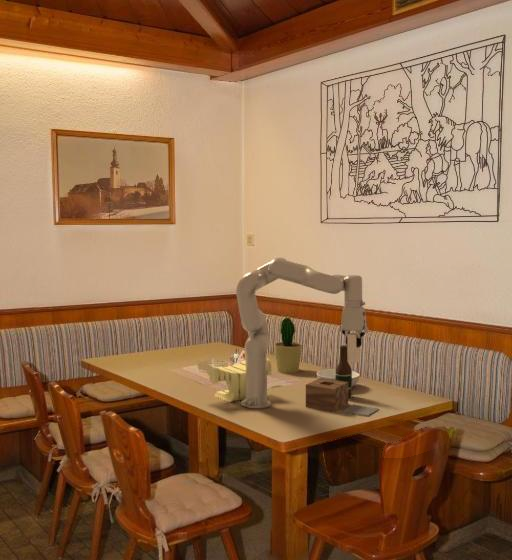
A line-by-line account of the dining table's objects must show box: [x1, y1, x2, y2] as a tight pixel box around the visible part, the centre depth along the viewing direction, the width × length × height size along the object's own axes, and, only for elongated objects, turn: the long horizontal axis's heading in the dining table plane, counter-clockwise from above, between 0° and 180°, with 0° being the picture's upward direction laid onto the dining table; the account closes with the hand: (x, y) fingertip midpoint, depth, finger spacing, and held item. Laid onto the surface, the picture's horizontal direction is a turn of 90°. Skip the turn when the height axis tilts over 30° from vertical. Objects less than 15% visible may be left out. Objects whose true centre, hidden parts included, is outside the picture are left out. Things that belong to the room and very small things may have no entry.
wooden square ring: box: [305, 378, 349, 412], centre depth 291 cm, size 14×14×10 cm
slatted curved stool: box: [197, 357, 272, 403], centre depth 304 cm, size 30×16×18 cm, turn 122°
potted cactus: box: [273, 317, 303, 374], centre depth 357 cm, size 15×15×30 cm
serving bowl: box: [316, 368, 360, 387], centre depth 324 cm, size 21×21×7 cm
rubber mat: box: [341, 404, 380, 417], centre depth 283 cm, size 12×12×1 cm
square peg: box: [346, 332, 361, 364], centre depth 283 cm, size 4×4×12 cm
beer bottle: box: [335, 344, 353, 399], centre depth 305 cm, size 8×8×24 cm
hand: (353, 346), depth 283 cm, fingers closed on square peg, 4 cm apart
